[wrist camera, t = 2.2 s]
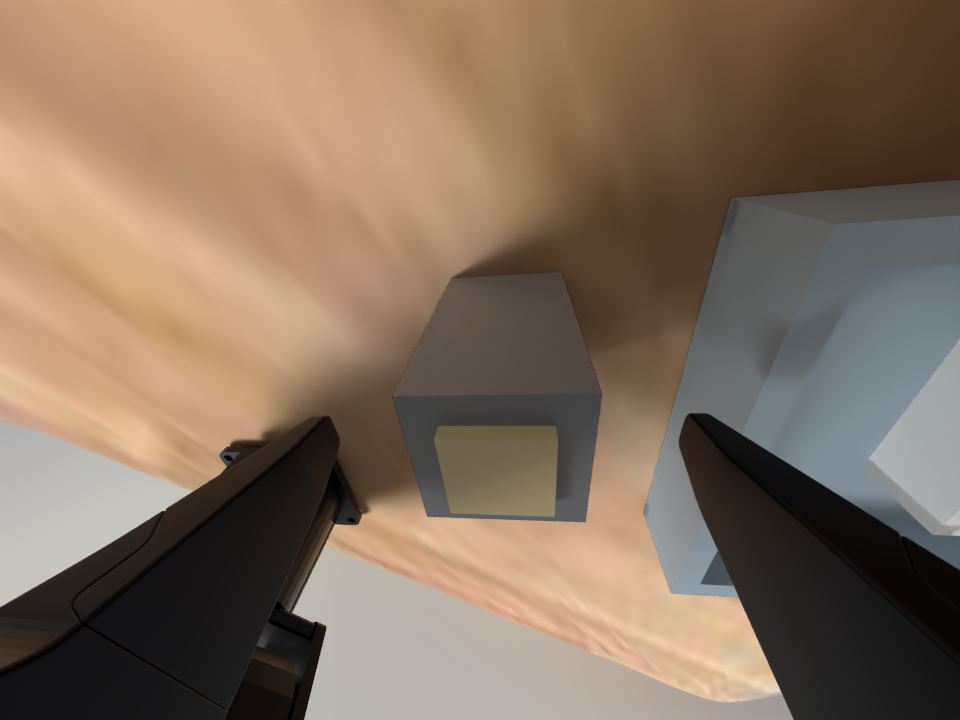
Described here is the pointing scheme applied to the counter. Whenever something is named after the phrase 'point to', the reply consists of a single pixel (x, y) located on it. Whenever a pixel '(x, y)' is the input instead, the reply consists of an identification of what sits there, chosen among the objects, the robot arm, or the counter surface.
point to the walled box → (814, 350)
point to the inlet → (926, 453)
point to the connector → (502, 402)
